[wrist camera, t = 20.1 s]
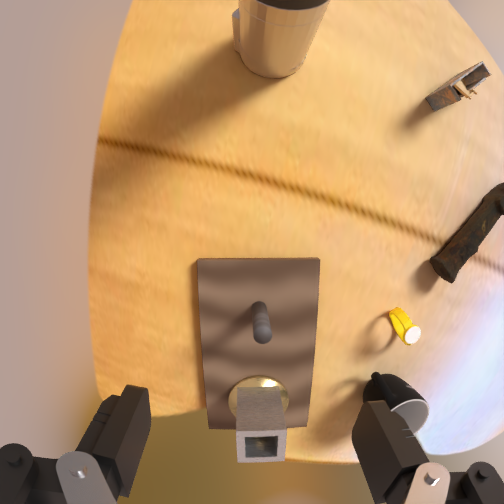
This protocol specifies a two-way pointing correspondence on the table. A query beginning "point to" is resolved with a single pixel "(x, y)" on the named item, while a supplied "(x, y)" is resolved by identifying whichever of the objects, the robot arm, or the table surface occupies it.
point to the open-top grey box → (260, 425)
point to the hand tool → (470, 236)
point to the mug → (398, 399)
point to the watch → (404, 326)
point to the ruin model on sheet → (458, 87)
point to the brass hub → (257, 382)
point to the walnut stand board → (238, 329)
